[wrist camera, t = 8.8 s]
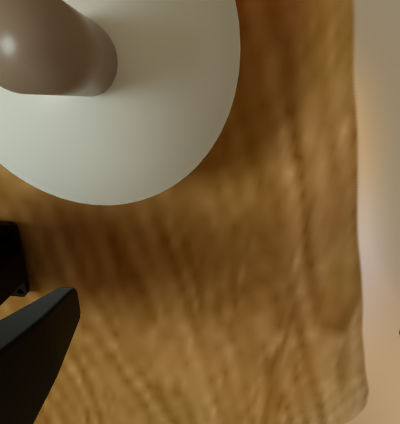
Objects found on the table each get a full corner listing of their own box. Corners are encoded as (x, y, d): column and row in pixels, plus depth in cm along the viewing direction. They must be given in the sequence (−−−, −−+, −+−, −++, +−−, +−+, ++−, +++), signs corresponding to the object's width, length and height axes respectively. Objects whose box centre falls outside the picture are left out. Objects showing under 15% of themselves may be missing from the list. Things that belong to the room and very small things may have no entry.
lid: (-23, 189, 15) (-134, 232, 10) (-109, -164, 10) (-421, -425, 5) (221, 210, 15) (227, 262, 10) (261, -133, 10) (312, -360, 5)
